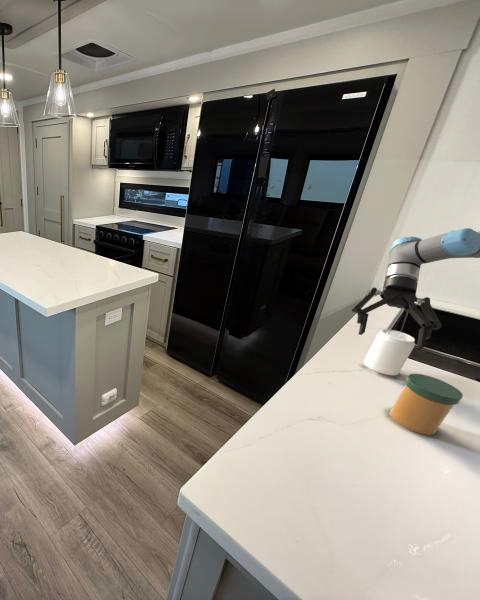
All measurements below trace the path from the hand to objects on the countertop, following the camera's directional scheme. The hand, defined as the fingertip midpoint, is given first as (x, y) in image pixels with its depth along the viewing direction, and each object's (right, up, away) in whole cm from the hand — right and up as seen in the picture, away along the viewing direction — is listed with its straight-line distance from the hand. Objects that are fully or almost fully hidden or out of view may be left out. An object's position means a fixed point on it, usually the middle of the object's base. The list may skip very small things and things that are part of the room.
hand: (390, 340), depth 94 cm
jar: (-14, -17, -19) cm, 29 cm away
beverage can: (-2, -9, +1) cm, 9 cm away
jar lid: (-14, -8, -23) cm, 28 cm away
